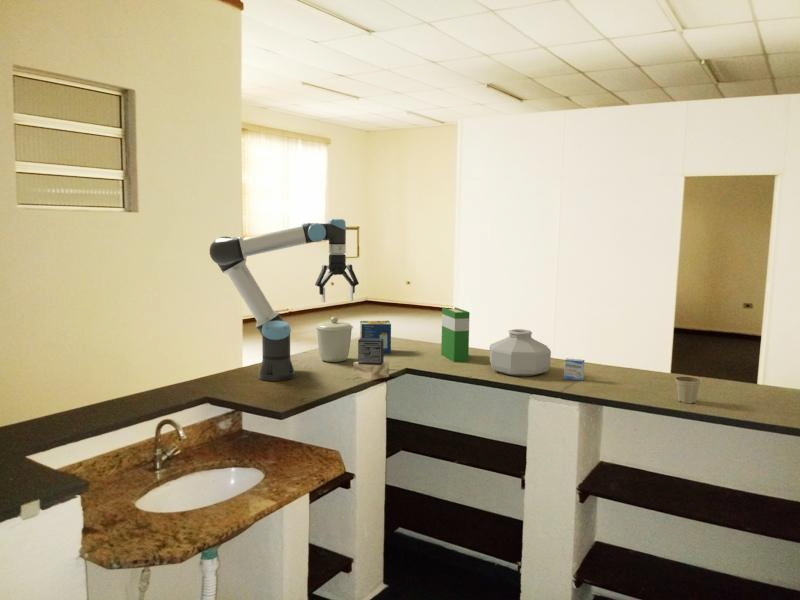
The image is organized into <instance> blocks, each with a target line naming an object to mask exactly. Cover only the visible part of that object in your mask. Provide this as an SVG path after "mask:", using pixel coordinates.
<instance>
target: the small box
mask: <svg viewBox="0 0 800 600" xmlns="http://www.w3.org/2000/svg"><path fill="white" fill-rule="evenodd" d="M383 341H384V339H377V338H360V337H359V339H358V341H357V347H358V349H357V350H358V351H357V352H358V355H357V356H358V358H357V359H358V361H357V362H358V364H380V365H381V364H383V362H384V363H385V361H384V360H385V359H384V356H385V354H384V346H383V345H384V342H383Z"/></svg>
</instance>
